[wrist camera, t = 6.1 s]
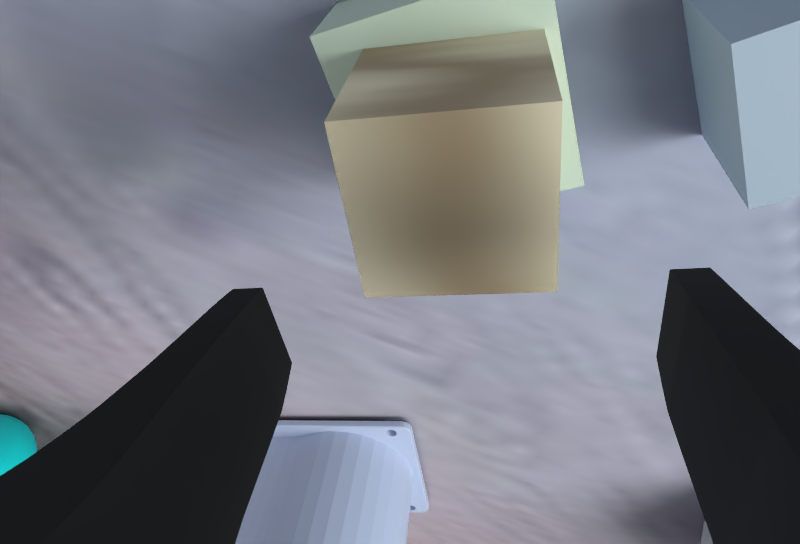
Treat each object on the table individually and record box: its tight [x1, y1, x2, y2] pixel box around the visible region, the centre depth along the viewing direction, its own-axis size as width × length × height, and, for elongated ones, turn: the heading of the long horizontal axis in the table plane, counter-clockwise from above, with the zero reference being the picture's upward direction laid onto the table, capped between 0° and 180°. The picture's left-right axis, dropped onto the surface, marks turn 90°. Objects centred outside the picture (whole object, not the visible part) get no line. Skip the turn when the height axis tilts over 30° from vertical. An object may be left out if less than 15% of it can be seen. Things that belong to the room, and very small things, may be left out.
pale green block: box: [310, 0, 584, 191], centre depth 17 cm, size 6×6×4 cm
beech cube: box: [324, 29, 563, 298], centre depth 14 cm, size 4×4×4 cm
